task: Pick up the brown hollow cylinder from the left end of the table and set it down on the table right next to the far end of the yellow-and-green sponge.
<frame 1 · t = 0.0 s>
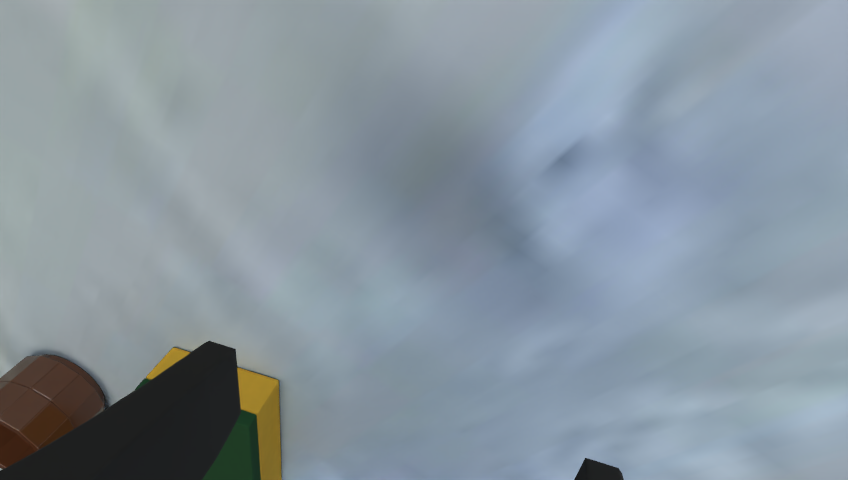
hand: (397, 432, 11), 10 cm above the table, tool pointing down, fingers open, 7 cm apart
brown hollow cylinder: (69, 384, 33), on the table
sponge: (231, 417, 31), on the table
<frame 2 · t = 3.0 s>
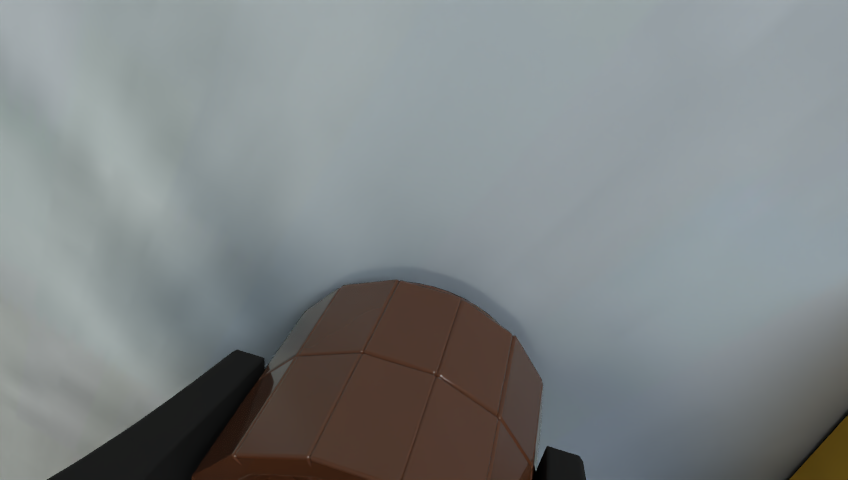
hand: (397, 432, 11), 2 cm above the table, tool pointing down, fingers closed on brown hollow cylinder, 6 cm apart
brown hollow cylinder: (419, 367, 13), on the table, touching gripper
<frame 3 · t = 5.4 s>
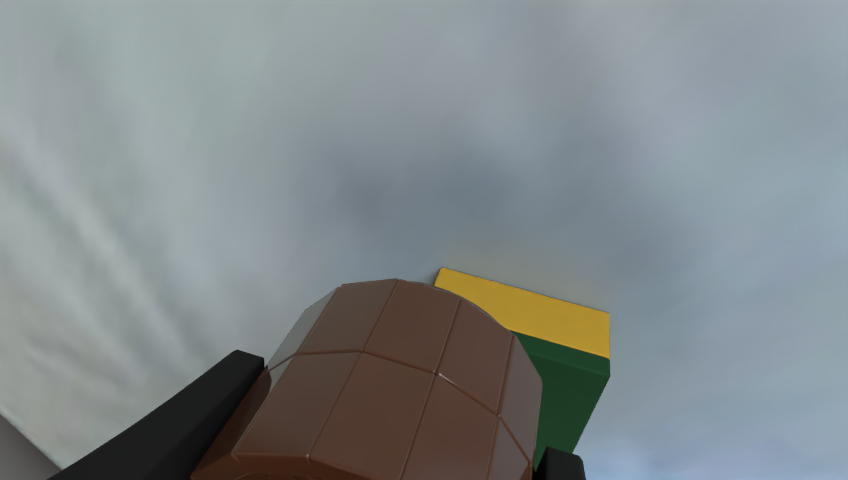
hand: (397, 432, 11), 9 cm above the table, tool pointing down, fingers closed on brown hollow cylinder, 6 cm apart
brown hollow cylinder: (418, 366, 13), point 7 cm above the table, touching gripper
sponge: (496, 375, 22), on the table
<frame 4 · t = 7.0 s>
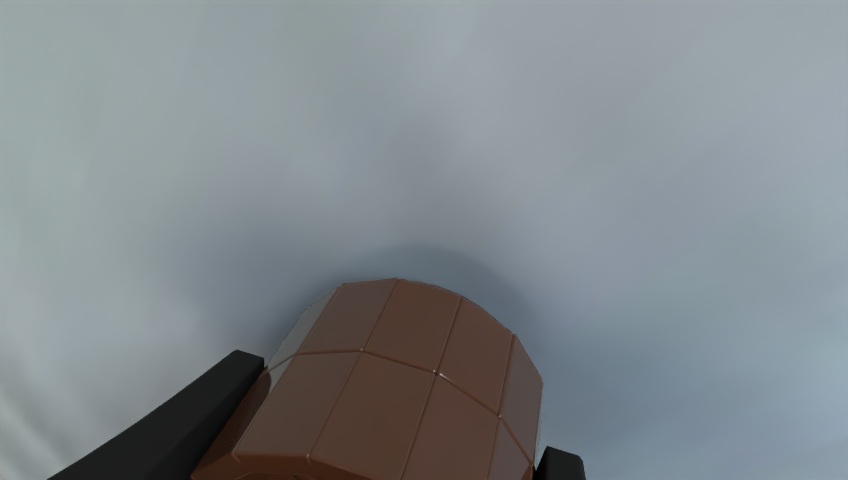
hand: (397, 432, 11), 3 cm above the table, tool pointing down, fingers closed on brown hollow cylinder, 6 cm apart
brown hollow cylinder: (419, 366, 13), point 1 cm above the table, touching gripper
when the fingers open (2 cm above the table, at t = 7.9 s): brown hollow cylinder stays where it is, on the table.
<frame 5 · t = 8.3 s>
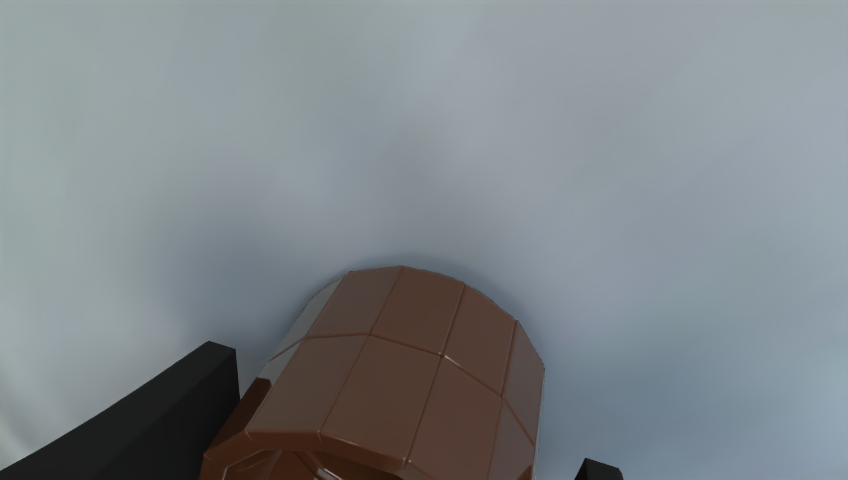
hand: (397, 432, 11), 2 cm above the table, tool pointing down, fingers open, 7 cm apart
brown hollow cylinder: (423, 353, 13), on the table
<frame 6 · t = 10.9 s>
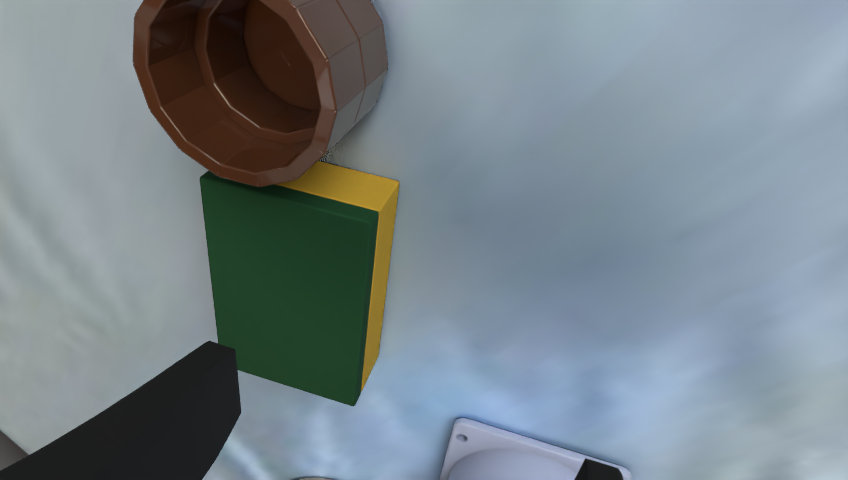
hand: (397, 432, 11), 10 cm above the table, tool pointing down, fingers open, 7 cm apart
brown hollow cylinder: (309, 43, 18), on the table
sponge: (318, 259, 23), on the table
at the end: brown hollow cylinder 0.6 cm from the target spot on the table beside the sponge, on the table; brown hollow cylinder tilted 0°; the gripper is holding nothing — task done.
